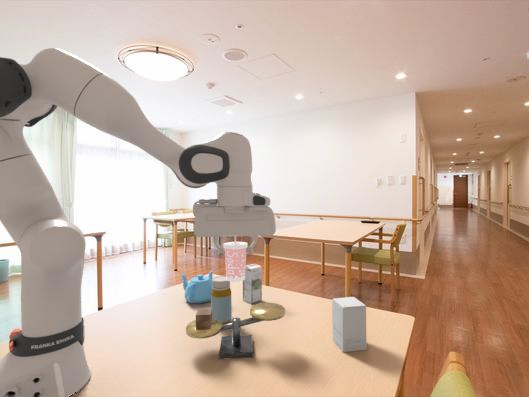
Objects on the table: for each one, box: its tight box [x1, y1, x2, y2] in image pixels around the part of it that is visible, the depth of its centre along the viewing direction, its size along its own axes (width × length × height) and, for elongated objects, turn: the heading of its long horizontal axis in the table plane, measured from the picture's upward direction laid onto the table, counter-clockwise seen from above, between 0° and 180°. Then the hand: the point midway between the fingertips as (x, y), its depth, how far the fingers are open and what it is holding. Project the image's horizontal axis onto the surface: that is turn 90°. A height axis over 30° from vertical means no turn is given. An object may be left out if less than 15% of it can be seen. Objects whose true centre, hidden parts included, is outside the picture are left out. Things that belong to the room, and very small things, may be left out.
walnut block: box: [195, 308, 212, 330], centre depth 79 cm, size 4×4×4 cm
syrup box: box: [242, 263, 263, 305], centre depth 115 cm, size 6×6×14 cm
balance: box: [185, 302, 286, 360], centre depth 79 cm, size 28×10×11 cm, turn 95°
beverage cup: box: [222, 236, 249, 283], centre depth 70 cm, size 6×6×14 cm
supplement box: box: [331, 296, 367, 353], centre depth 81 cm, size 7×7×13 cm
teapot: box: [180, 269, 214, 304], centre depth 118 cm, size 15×15×10 cm
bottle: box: [210, 275, 233, 325], centre depth 96 cm, size 7×7×15 cm
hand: (235, 253), depth 70 cm, fingers closed on beverage cup, 6 cm apart
